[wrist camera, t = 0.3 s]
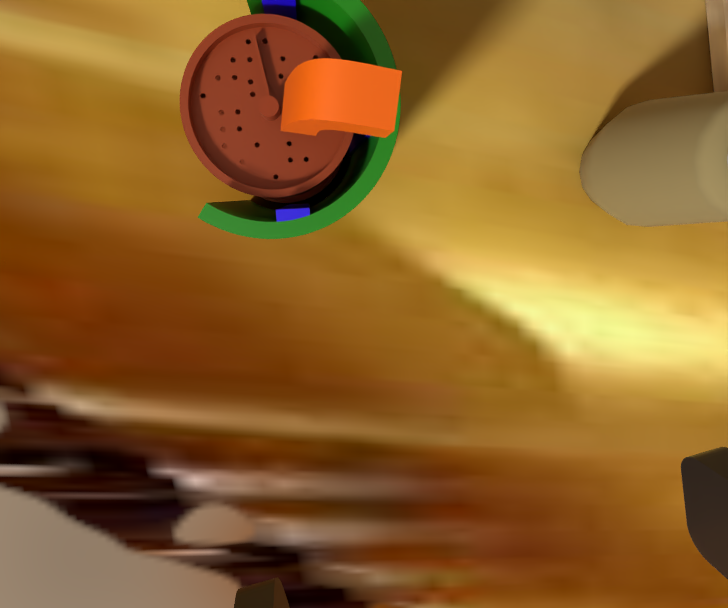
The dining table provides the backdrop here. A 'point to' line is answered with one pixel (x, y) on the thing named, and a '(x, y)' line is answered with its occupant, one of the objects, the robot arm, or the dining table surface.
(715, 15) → the stand
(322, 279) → the dining table surface
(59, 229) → the dining table surface
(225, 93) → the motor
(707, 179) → the squeeze bottle
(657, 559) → the dining table surface
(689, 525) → the robot arm
